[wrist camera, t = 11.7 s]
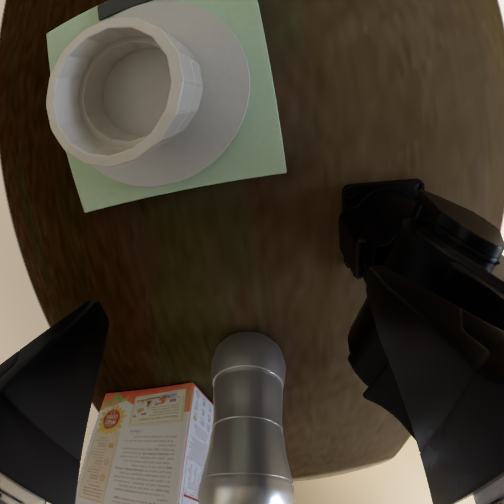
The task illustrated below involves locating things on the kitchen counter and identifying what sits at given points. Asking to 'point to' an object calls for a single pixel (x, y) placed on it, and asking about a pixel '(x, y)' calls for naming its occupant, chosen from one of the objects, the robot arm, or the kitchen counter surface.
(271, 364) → the silver metal bottle
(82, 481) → the cracker box
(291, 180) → the kitchen counter surface
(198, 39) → the scale
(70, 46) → the bowl
